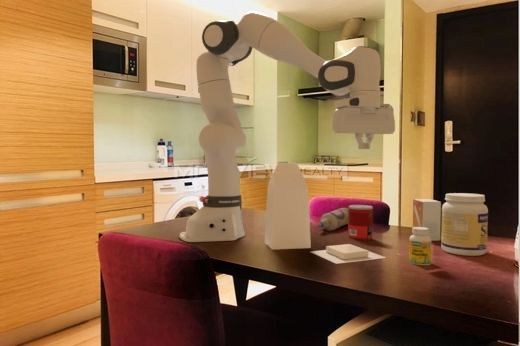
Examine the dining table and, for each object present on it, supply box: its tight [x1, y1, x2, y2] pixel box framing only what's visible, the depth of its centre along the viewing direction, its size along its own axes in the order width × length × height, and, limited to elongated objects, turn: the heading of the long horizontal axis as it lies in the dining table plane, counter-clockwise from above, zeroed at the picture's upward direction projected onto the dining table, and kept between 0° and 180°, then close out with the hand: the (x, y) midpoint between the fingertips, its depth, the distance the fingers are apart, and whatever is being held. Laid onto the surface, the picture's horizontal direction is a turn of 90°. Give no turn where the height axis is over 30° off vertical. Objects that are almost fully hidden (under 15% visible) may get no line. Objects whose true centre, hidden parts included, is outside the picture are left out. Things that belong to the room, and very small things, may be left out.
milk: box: [264, 162, 312, 250], centre depth 130 cm, size 12×12×26 cm
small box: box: [412, 198, 442, 242], centre depth 143 cm, size 8×6×13 cm
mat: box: [310, 249, 387, 265], centre depth 118 cm, size 16×14×1 cm
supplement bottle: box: [408, 226, 432, 266], centre depth 110 cm, size 5×5×10 cm
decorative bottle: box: [316, 207, 348, 231], centre depth 161 cm, size 26×8×7 cm, turn 147°
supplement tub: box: [440, 192, 489, 257], centre depth 123 cm, size 12×12×17 cm
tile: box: [325, 243, 370, 259], centre depth 118 cm, size 2×9×8 cm
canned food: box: [347, 204, 374, 242], centre depth 142 cm, size 8×8×11 cm
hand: (364, 149), depth 126 cm, fingers closed
